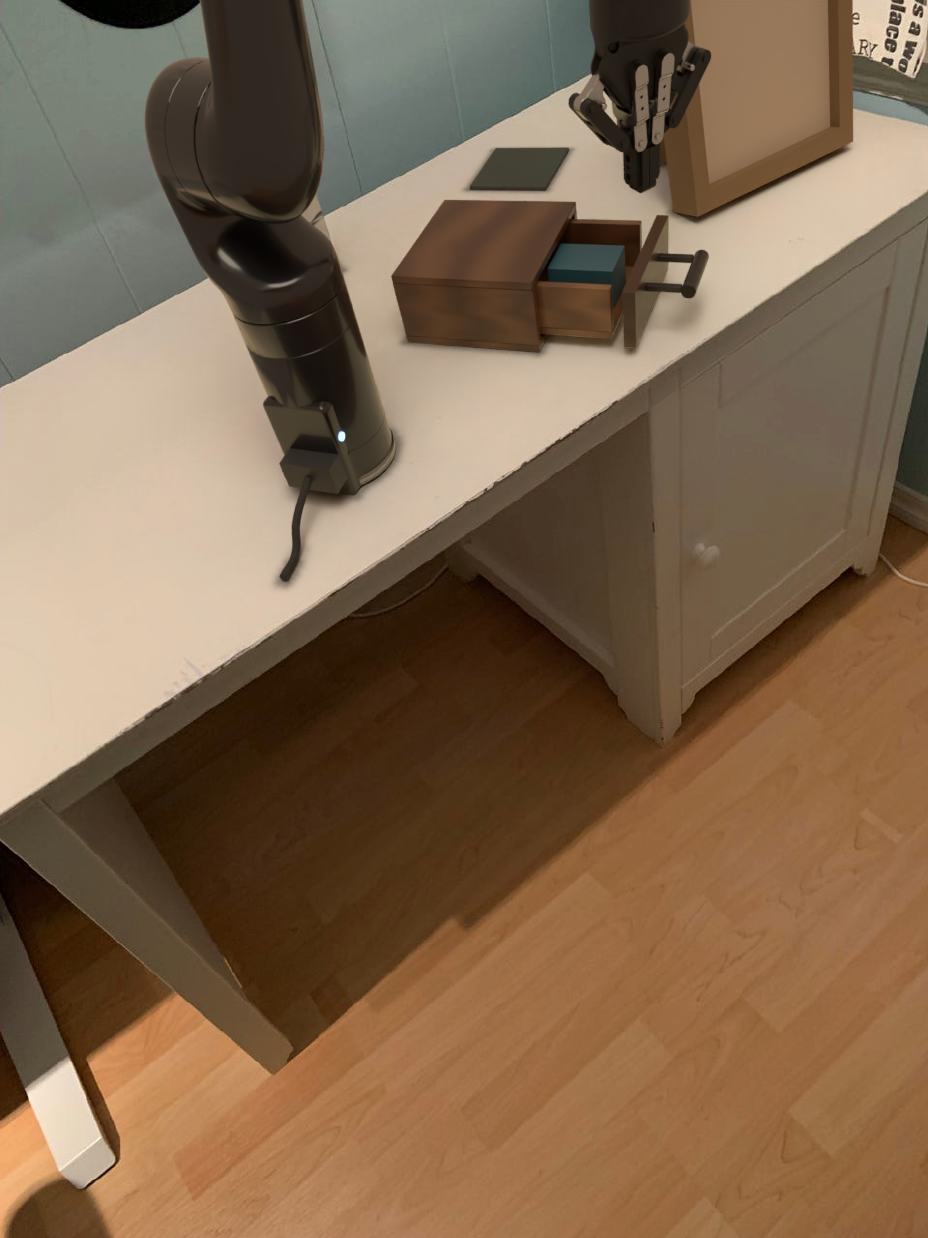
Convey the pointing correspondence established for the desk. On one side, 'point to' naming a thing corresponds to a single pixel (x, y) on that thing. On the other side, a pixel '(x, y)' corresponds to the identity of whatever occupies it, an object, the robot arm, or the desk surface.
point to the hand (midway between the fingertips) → (641, 187)
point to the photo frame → (760, 97)
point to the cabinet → (480, 273)
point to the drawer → (592, 304)
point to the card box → (590, 266)
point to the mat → (519, 169)
